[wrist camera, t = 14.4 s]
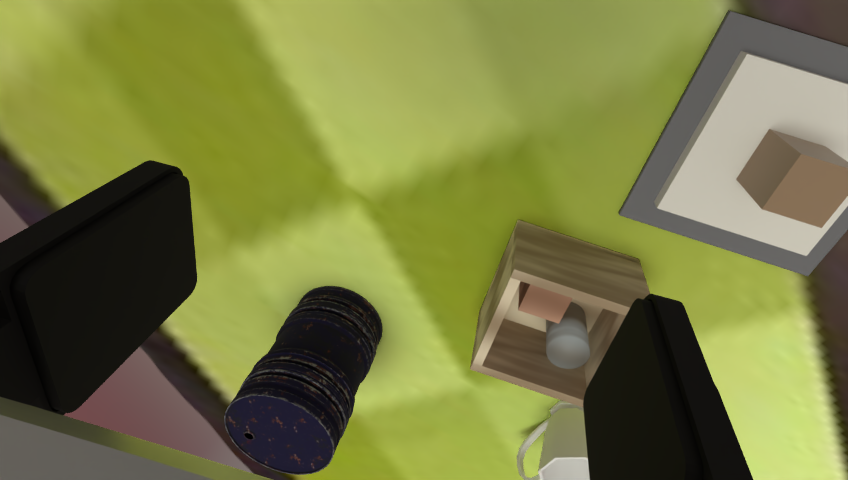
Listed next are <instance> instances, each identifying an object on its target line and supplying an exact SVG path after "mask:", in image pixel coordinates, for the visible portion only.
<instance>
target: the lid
mask: <svg viewBox="0 0 848 480" xmlns="http://www.w3.org/2000/svg"><path fill="white" fill-rule="evenodd" d="M654 203H655V205H656V207H657V208H658V209H661V210H664V211H667V212H670V213H673V214H676V215H680V216H683V217H686V218H689V219H692V220H695V221H698V222H701V223H705V224H708V225H711V226H714V227H717V228H720V229H723V230H726V231H730V232H733V233H736V234H739V235H742V236H745V237H748V238H751V239H755V240H758V241H761V242H764V243H767V244H770V245H773V246H776V247H780V248H783V249H786V250H789V251H792V252H795V253H798V254H801V255H805V256H807V255H808V254H809V252H810V251H811V250H812V249H813V248H814V246H815V245H816V244H817V243H818V241H819V240H820V239H821V238H822V237H823V235H824V234H825V233H826V232H827V231H828V229H829V228H830V227H831V226H832V224H833V223H834V222H835V221H836V220H837V218H838V217H839V216H840V215H841V214H842V212H843V211H844V210H845V209H846V207H847V206H848V83H845V82H842V81H839V80H835V79H832V78H829V77H826V76H822V75H819V74H816V73H812V72H809V71H806V70H803V69H799V68H796V67H793V66H790V65H786V64H783V63H780V62H777V61H773V60H770V59H767V58H763V57H760V56H757V55H754V54H750V53H747V52H744V51H740V53H739V55H738V57H737V58H736V60H735V62H734V64H733V65H732V67H731V69H730V70H729V72H728V74H727V76H726V77H725V79H724V81H723V83H722V84H721V86H720V88H719V90H718V91H717V93H716V95H715V97H714V98H713V100H712V102H711V103H710V105H709V107H708V109H707V110H706V112H705V114H704V116H703V117H702V119H701V121H700V123H699V124H698V126H697V128H696V129H695V131H694V133H693V135H692V136H691V138H690V140H689V142H688V143H687V145H686V147H685V149H684V150H683V152H682V154H681V156H680V157H679V159H678V161H677V162H676V164H675V166H674V168H673V169H672V171H671V173H670V175H669V176H668V178H667V180H666V182H665V183H664V185H663V187H662V188H661V190H660V192H659V194H658V195H657V197H656V199H655V201H654Z"/></svg>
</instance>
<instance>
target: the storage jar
mask: <svg viewBox="0 0 848 480" xmlns="http://www.w3.org/2000/svg"><path fill="white" fill-rule="evenodd" d="M381 337H382V323H381V319H380V317H379V315H378V313H377V311H376V310H375V308H374V307H373V306H372V305H371V304H370V303H369V302H368V301H367V300H366V299H365V298H363V297H362V296H360V295H359V294H357V293H355V292H353V291H351V290H348V289H345V288H342V287H336V286H324V287H319V288H315V289H313V290H311V291H309V292H308V293H307V294H305V295H304V297H303V298H302V299H301V300H300V302H299V304H298V306H297V307H296V308H295V309H294V310H293V311H292V312H291V313H290V315H289V316H288V318H287V319H286V321H285V323H284V325H283V326H282V327H281V329H280V331H279V333H278V335H277V337H276V342H275V343H274V345H273V346H272V348H271V349H270V351H269V352H268V354H266V355H265V356H263V357H262V358H261V359H260V360H259V361H258V362H257V363H256V365H255V366H254V368H253V370H252V371H251V373H250V374H249V375H248V377H247V378H246V379H245V381H244V382H243V384H242V386H241V388H240V390H239V392H238V393H237V395H236V397H235V398H234V399H233V401H232V402H231V404H230V405H229V407H228V408H227V410H226V412H225V417H224V420H225V427H226V430H227V432H228V434H229V436H230V438H231V439H232V441H233V442H234V443H235V445H236V446H237V447H238V448H239V449H240V450H241V451H242V452H243V453H245V454H246V455H247V456H249V457H250V458H251V459H253V460H254V461H256V462H258V463H260V464H262V465H264V466H266V467H268V468H270V469H273V470H276V471H279V472H283V473H288V474H297V475H301V474H312V473H315V472H318V471H320V470H322V469H324V468H325V467H326V466H328V464H329V463H330V462H331V460H332V458H333V455H334V453H335V450H336V447H337V445H338V443H339V440H340V438H341V437H342V436H343V434H344V431H345V429H346V426H347V424H348V421H349V418H350V417H351V415H352V412H353V407H354V402H355V394H356V392H357V390H358V387H359V385H360V383H361V382H362V381H363V380H364V379H365V377H366V375H367V373H368V372H369V370H370V367H371V364H372V362H373V360H374V357H375V355H376V350H377V346H378V344H379V342H380V339H381Z"/></svg>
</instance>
